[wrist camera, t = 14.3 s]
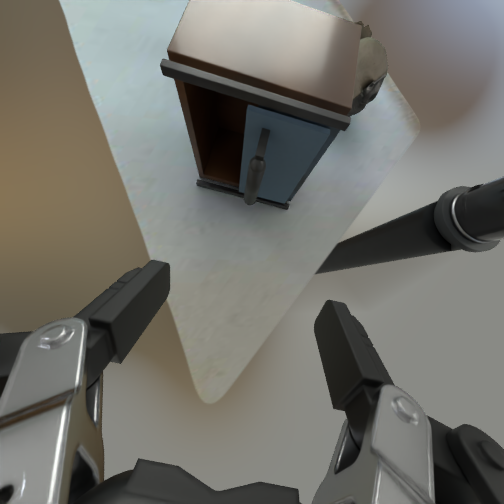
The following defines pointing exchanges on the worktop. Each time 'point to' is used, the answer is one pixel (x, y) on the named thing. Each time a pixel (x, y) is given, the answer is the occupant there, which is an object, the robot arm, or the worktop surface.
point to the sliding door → (276, 154)
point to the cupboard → (258, 76)
